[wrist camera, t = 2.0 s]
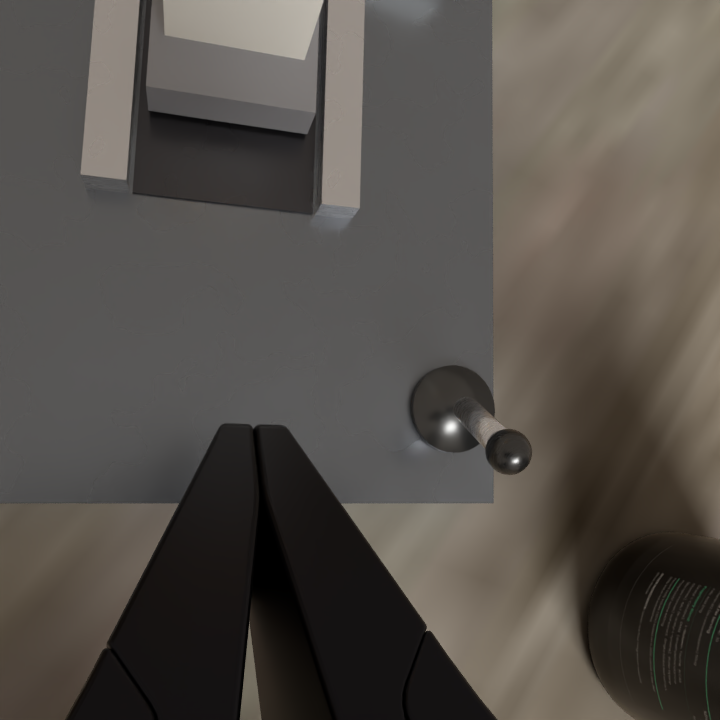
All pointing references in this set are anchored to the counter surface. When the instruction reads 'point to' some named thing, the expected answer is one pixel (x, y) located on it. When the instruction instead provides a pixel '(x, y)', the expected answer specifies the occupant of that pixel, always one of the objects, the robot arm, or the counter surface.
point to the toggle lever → (494, 437)
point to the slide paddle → (235, 61)
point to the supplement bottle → (660, 627)
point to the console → (245, 259)
